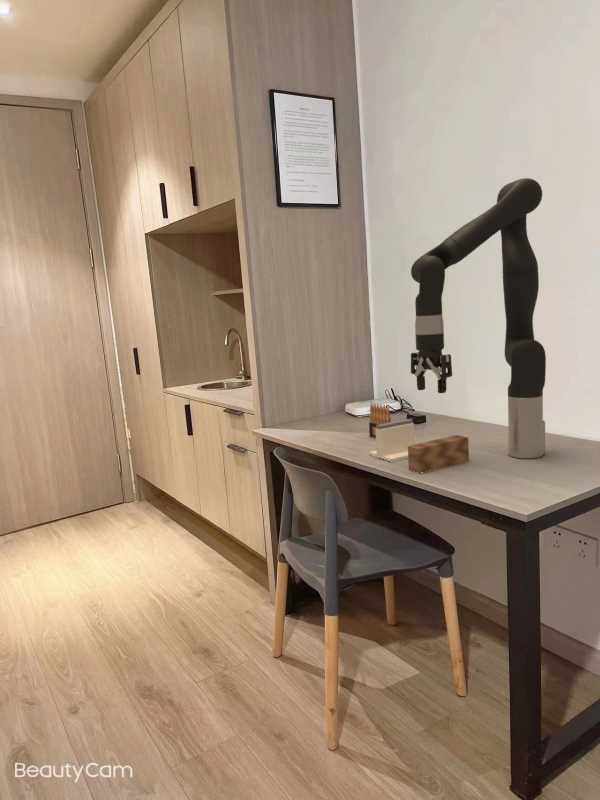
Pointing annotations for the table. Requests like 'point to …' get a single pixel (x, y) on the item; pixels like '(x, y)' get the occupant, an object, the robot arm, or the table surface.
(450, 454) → the walnut beam
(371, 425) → the ammunition clip
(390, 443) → the ridge stand
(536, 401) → the robot arm
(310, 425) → the table surface
